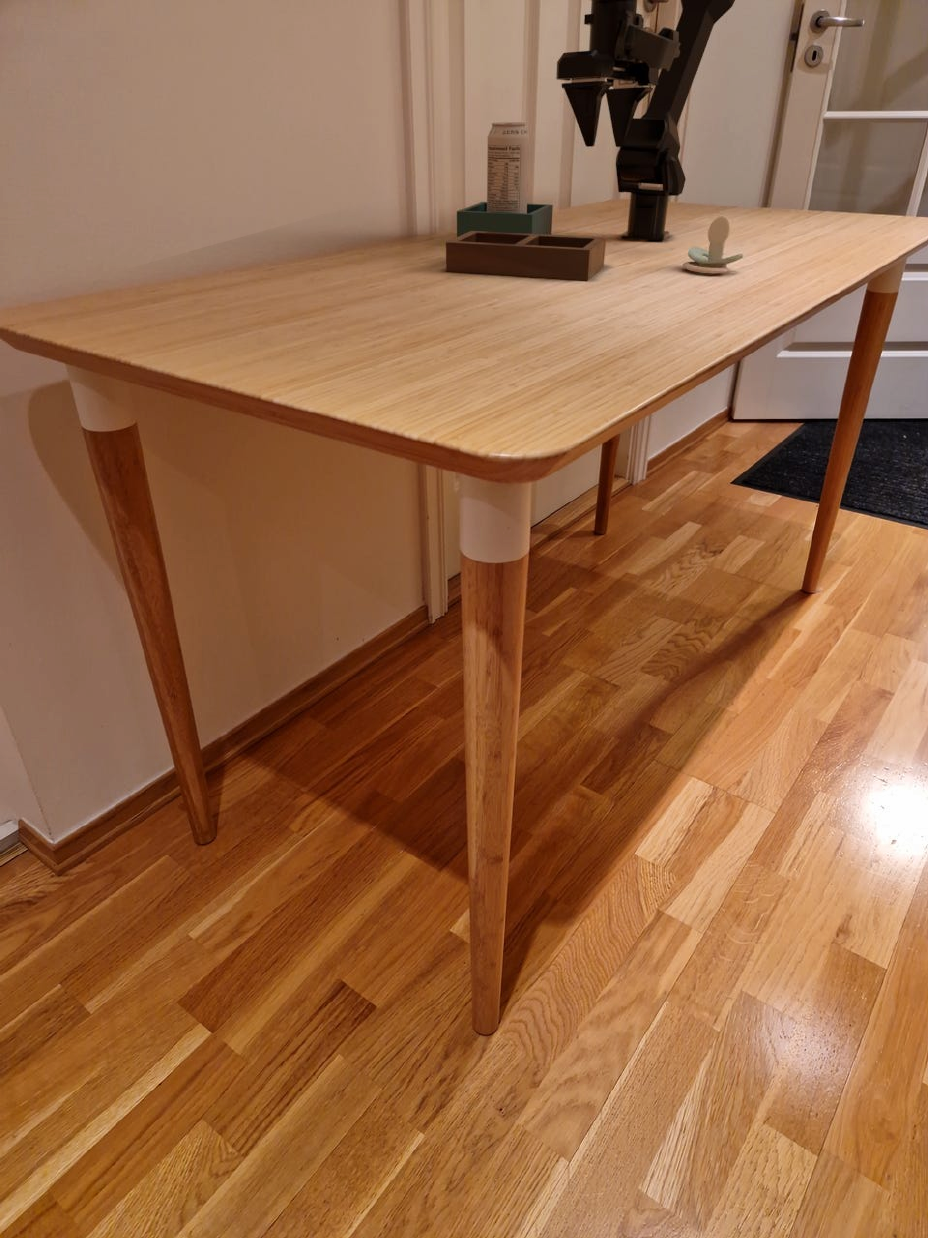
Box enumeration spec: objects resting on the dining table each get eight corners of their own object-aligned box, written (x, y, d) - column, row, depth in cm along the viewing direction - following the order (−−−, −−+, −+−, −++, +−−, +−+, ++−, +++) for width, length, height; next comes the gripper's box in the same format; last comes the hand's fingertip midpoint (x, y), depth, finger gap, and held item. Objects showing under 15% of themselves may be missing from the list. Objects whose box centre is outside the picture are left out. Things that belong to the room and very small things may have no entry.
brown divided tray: (471, 258, 116) (471, 230, 114) (604, 266, 111) (606, 237, 109) (446, 271, 108) (445, 241, 106) (587, 280, 103) (589, 249, 101)
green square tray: (481, 232, 135) (481, 201, 132) (551, 236, 131) (552, 204, 129) (456, 244, 126) (456, 210, 123) (531, 248, 122) (532, 214, 120)
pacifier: (716, 279, 104) (746, 271, 107) (724, 224, 100) (754, 217, 103) (670, 270, 109) (700, 263, 112) (676, 217, 105) (706, 211, 108)
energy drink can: (532, 235, 129) (536, 122, 121) (514, 240, 125) (517, 124, 117) (498, 232, 132) (500, 121, 124) (479, 237, 127) (480, 123, 119)
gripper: (643, -14, 95) (631, 144, 102) (702, 7, 108) (687, 145, 116) (557, -3, 100) (551, 146, 108) (622, 15, 114) (614, 147, 121)
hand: (605, 146), depth 113 cm, fingers open, 9 cm apart
